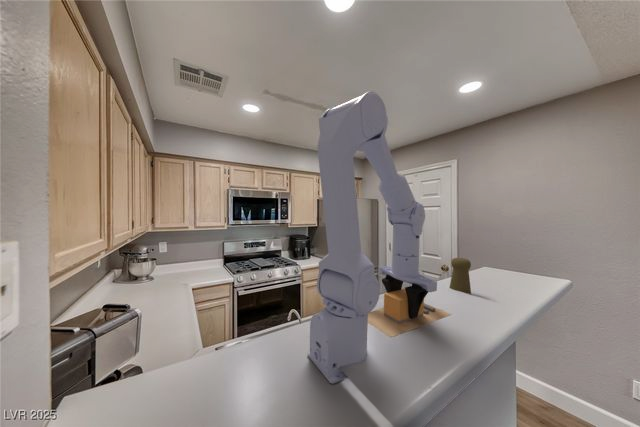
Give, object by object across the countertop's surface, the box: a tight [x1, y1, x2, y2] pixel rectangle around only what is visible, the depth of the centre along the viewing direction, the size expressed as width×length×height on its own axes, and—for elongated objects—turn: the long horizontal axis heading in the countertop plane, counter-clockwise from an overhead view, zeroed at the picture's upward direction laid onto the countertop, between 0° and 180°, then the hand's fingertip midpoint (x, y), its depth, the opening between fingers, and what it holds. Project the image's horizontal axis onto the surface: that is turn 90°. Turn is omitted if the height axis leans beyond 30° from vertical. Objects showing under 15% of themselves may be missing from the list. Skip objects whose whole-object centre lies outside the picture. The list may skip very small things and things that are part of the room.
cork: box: [449, 257, 472, 296], centre depth 72 cm, size 6×6×11 cm
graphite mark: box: [424, 303, 436, 312], centre depth 57 cm, size 1×4×1 cm, turn 30°
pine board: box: [368, 302, 452, 338], centre depth 53 cm, size 20×10×2 cm, turn 120°
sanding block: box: [383, 288, 425, 324], centre depth 53 cm, size 8×4×5 cm, turn 120°
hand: (403, 312), depth 53 cm, fingers closed on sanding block, 4 cm apart
